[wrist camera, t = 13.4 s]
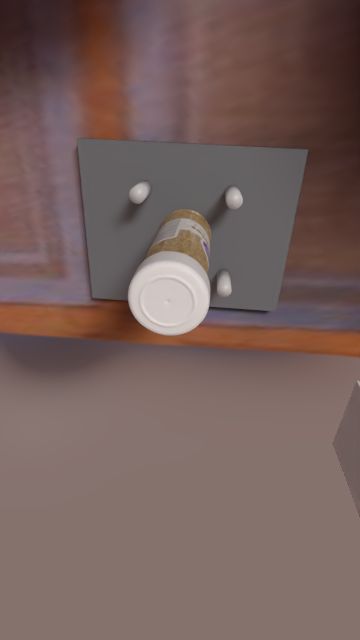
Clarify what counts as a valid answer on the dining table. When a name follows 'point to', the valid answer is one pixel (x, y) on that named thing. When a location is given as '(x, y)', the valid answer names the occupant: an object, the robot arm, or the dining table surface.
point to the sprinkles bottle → (174, 276)
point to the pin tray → (195, 194)
